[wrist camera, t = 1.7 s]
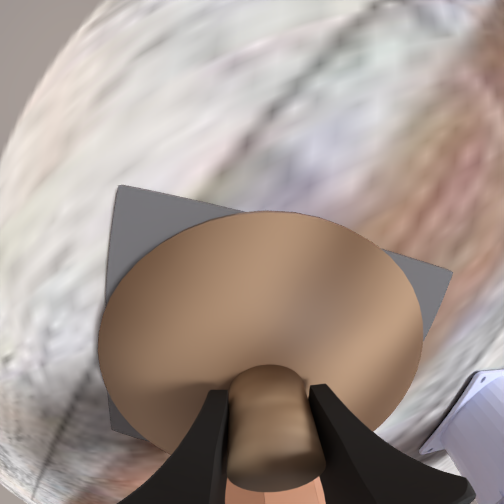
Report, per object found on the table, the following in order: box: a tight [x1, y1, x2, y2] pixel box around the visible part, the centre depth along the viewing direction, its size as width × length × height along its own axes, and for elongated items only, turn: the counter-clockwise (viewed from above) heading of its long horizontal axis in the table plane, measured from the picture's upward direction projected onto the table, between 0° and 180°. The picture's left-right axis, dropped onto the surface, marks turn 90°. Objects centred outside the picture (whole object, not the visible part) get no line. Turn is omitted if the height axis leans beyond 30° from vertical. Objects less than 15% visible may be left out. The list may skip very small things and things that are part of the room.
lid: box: [98, 211, 423, 492], centre depth 9 cm, size 14×14×5 cm
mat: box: [105, 185, 453, 442], centre depth 11 cm, size 14×13×1 cm
